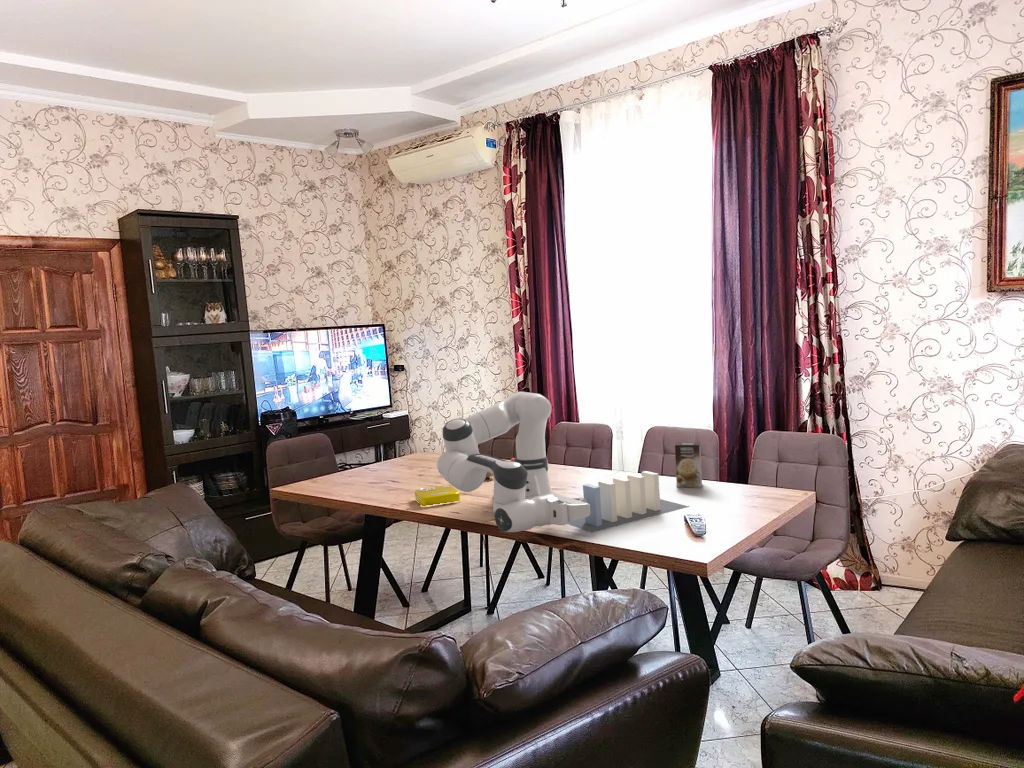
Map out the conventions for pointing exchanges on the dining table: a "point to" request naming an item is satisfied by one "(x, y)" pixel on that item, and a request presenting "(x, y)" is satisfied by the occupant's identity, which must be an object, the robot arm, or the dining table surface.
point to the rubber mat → (664, 508)
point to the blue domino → (593, 504)
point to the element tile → (437, 495)
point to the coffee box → (688, 464)
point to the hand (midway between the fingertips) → (584, 500)
